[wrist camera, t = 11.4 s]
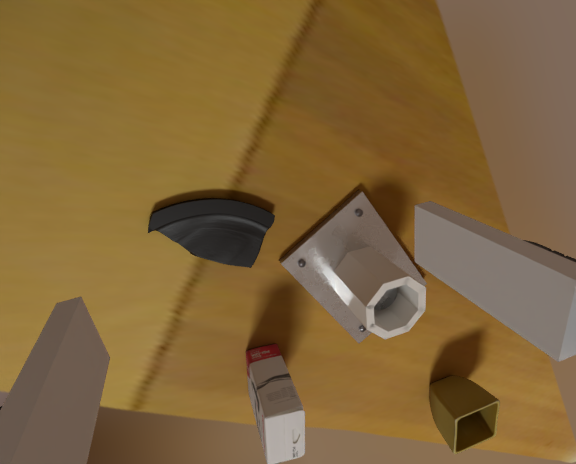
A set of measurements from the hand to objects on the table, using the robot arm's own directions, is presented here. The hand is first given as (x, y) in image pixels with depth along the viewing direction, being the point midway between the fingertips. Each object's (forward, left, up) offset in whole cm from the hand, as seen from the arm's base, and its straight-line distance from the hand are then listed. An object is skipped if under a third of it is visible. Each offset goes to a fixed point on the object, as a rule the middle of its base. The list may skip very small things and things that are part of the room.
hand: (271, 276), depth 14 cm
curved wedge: (+7, -4, -29) cm, 30 cm away
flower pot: (+60, +3, -29) cm, 66 cm away
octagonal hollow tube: (+26, +5, -27) cm, 38 cm away
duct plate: (+26, +5, -28) cm, 39 cm away
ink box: (+28, -15, -29) cm, 43 cm away
